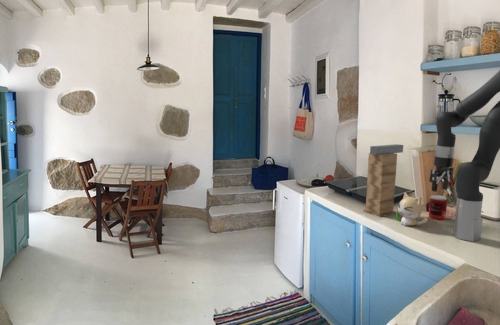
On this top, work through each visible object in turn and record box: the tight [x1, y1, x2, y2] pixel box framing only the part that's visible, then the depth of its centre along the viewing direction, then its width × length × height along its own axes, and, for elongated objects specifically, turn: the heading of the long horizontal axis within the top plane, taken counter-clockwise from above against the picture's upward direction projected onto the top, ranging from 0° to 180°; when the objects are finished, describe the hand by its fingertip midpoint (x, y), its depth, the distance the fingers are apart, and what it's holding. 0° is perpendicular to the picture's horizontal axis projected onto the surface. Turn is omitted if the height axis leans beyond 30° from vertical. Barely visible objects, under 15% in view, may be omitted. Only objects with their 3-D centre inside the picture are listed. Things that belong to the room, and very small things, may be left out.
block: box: [369, 144, 404, 155], centre depth 179 cm, size 4×21×4 cm, turn 120°
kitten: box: [395, 192, 429, 227], centre depth 162 cm, size 15×10×15 cm
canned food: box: [428, 194, 448, 221], centre depth 173 cm, size 8×8×11 cm
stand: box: [362, 152, 398, 218], centre depth 180 cm, size 11×12×32 cm
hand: (439, 190), depth 157 cm, fingers open, 8 cm apart
